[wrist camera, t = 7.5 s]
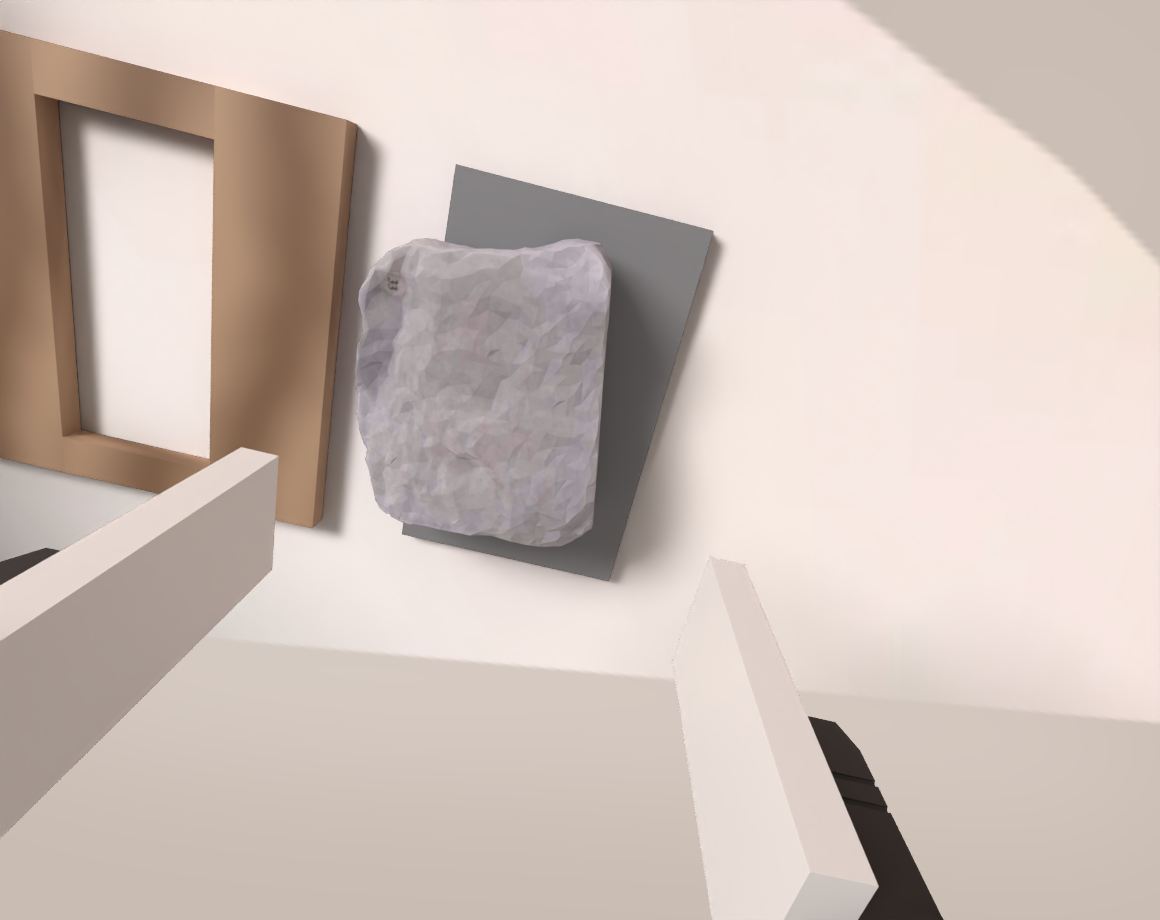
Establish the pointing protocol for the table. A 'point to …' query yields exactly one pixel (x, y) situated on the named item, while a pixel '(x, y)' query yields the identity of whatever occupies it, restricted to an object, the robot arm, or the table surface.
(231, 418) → the pocket board
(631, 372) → the mat
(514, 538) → the stone block
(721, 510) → the table surface
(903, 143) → the table surface
